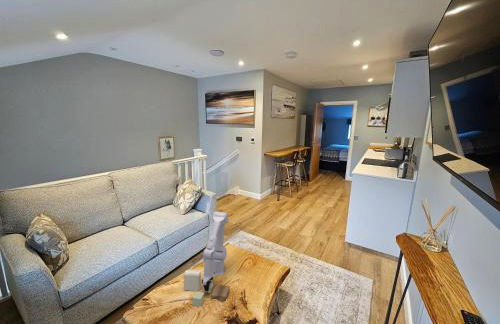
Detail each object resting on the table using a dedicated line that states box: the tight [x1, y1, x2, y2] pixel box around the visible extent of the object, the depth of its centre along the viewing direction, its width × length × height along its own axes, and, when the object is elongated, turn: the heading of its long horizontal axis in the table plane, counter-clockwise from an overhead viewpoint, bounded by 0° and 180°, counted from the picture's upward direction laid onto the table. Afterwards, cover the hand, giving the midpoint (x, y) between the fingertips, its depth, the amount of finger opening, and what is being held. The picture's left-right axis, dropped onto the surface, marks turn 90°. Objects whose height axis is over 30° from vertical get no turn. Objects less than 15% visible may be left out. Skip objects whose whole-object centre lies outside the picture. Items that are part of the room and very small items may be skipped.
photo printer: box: [183, 269, 202, 292], centre depth 127 cm, size 10×4×12 cm, turn 90°
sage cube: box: [191, 291, 205, 307], centre depth 116 cm, size 5×5×5 cm
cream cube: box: [202, 279, 214, 294], centre depth 127 cm, size 5×5×5 cm
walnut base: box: [210, 284, 231, 302], centre depth 123 cm, size 9×9×3 cm
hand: (208, 287), depth 127 cm, fingers closed on cream cube, 5 cm apart
